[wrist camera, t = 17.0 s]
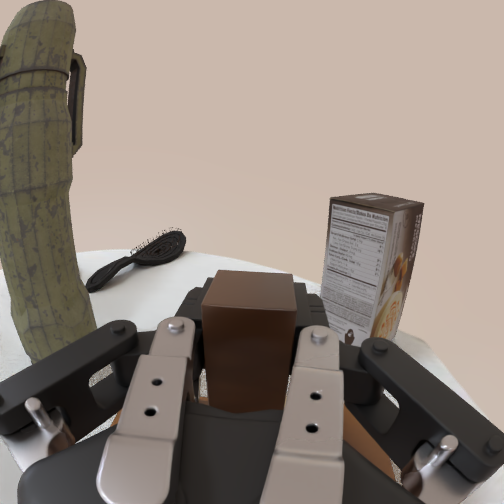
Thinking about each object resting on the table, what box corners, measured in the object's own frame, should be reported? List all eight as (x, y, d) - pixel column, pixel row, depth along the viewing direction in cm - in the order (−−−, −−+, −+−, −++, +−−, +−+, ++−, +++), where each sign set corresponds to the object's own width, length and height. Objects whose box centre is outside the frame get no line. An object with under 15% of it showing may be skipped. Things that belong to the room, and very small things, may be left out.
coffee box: (352, 318, 35) (372, 191, 30) (395, 337, 31) (425, 202, 25) (309, 350, 29) (328, 195, 24) (359, 377, 25) (398, 210, 20)
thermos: (126, 340, 29) (116, 7, 18) (55, 403, 19) (21, -23, 7) (77, 319, 32) (62, 35, 20) (11, 366, 21) (-21, 24, 9)
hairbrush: (69, 269, 39) (162, 224, 61) (74, 290, 41) (164, 241, 62) (100, 281, 36) (194, 229, 58) (105, 304, 38) (195, 246, 59)
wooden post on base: (178, 507, 11) (112, 323, 7) (198, 435, 17) (177, 253, 13) (304, 518, 11) (382, 342, 7) (302, 443, 16) (338, 261, 12)
